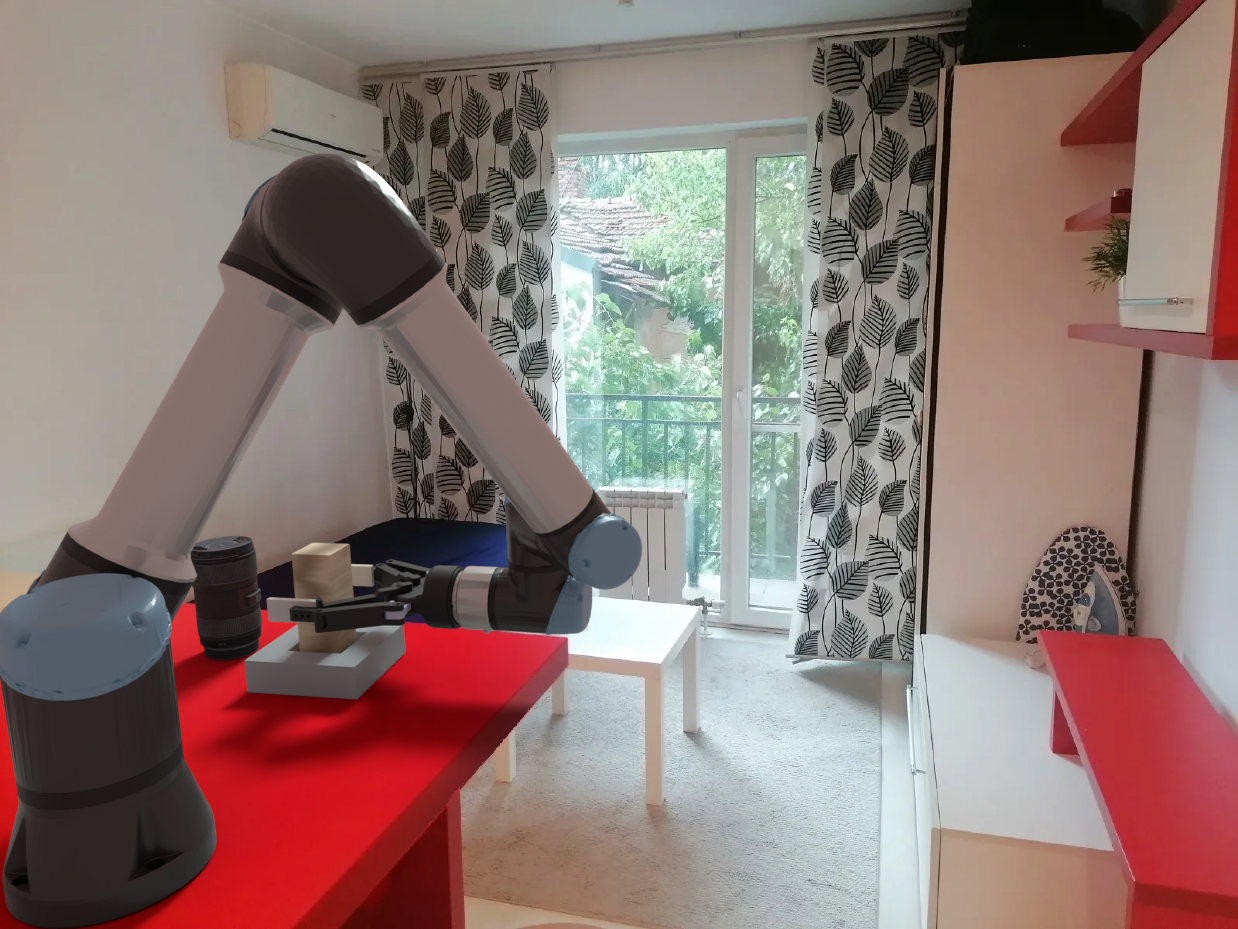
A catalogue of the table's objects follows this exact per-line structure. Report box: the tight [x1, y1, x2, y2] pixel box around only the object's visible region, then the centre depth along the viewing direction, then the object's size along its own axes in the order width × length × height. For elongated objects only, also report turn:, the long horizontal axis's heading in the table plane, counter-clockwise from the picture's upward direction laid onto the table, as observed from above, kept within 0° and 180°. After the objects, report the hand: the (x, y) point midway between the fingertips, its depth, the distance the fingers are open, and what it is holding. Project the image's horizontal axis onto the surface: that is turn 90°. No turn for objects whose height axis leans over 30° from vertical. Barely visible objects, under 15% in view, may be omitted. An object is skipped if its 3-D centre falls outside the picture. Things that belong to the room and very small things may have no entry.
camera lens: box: [190, 535, 263, 661], centre depth 116 cm, size 8×8×15 cm
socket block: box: [243, 623, 406, 700], centre depth 110 cm, size 14×14×4 cm
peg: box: [291, 542, 357, 654], centre depth 109 cm, size 5×5×16 cm
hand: (299, 590), depth 109 cm, fingers open, 13 cm apart
